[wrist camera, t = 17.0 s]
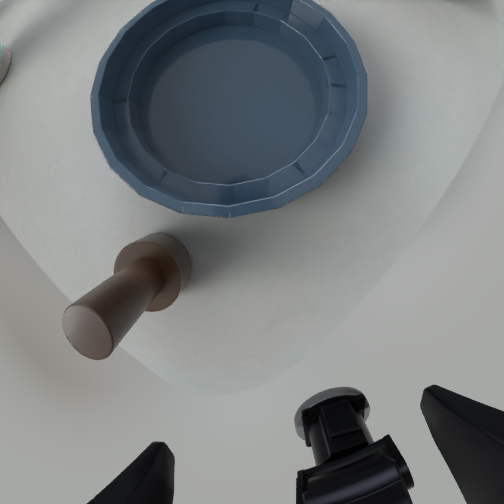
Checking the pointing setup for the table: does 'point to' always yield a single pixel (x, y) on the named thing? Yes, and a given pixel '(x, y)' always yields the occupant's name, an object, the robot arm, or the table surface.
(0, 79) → the coffee cup
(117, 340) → the muddler
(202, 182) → the bowl
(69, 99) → the table surface
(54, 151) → the table surface
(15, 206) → the table surface
